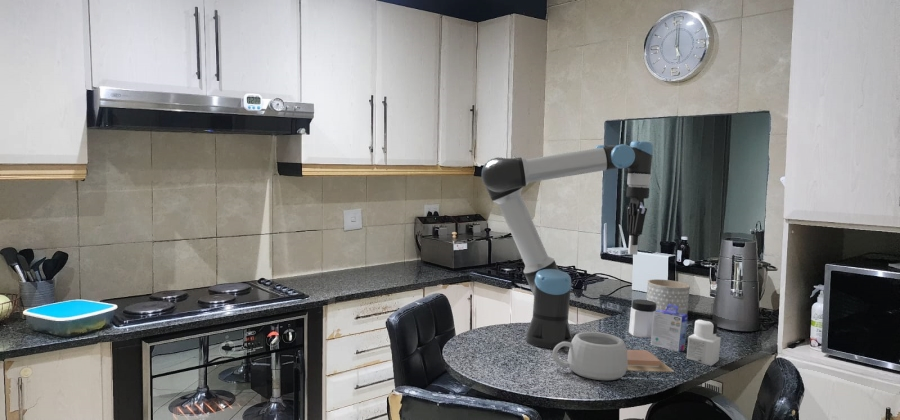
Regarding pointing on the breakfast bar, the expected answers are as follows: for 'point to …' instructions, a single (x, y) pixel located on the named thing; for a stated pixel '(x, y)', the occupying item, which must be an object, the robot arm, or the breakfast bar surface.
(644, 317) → the jar
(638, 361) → the tile
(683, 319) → the ink cartridge box
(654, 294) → the planter
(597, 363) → the mug
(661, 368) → the plate
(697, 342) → the container
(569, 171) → the robot arm
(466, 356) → the breakfast bar surface
